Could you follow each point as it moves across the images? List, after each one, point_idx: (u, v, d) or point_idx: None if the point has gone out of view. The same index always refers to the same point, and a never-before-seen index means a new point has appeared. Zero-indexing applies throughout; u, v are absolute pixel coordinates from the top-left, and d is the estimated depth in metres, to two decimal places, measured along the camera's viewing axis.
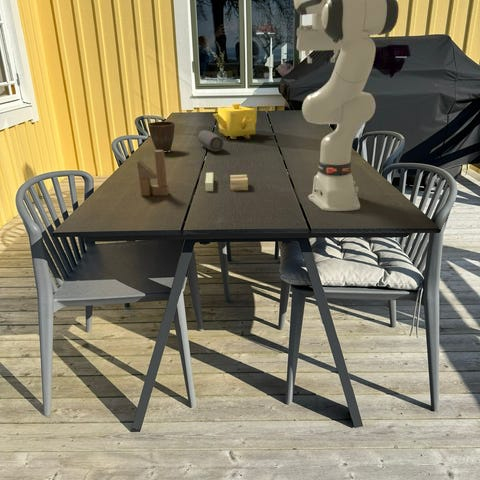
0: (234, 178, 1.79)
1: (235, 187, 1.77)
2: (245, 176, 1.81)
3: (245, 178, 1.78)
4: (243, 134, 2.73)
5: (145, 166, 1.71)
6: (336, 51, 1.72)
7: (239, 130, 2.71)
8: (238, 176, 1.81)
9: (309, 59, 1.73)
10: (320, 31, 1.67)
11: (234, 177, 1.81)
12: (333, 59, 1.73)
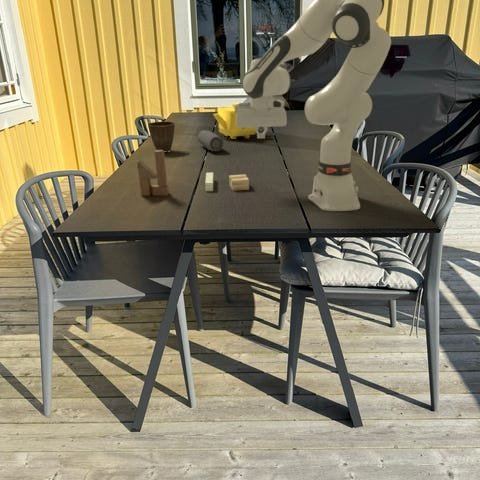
0: (234, 178, 1.79)
1: (236, 187, 1.77)
2: (245, 176, 1.81)
3: (245, 178, 1.78)
4: (243, 134, 2.73)
5: (145, 166, 1.71)
6: (265, 128, 1.71)
7: (239, 130, 2.71)
8: (238, 176, 1.81)
9: (258, 135, 1.72)
10: (257, 109, 1.66)
11: (234, 177, 1.80)
12: (263, 135, 1.72)
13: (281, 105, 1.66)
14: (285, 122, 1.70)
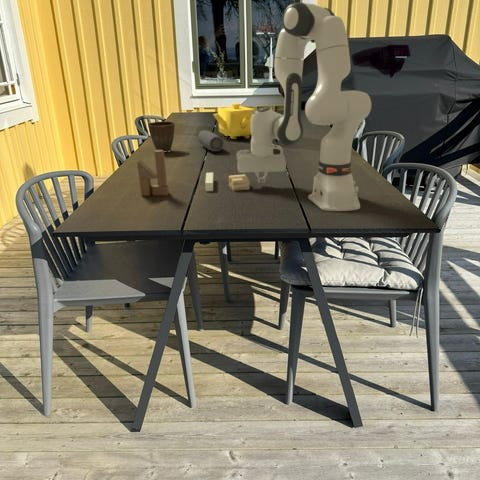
0: (235, 178, 1.79)
1: (236, 187, 1.77)
2: (244, 176, 1.81)
3: (246, 178, 1.79)
4: (243, 134, 2.73)
5: (145, 166, 1.71)
6: (265, 173, 1.79)
7: (239, 130, 2.71)
8: (237, 176, 1.81)
9: (259, 179, 1.80)
10: (258, 156, 1.74)
11: (234, 177, 1.80)
12: (263, 179, 1.80)
13: (280, 152, 1.73)
14: (284, 168, 1.77)
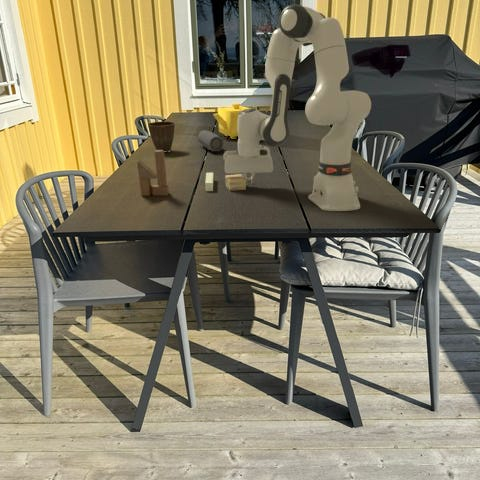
0: (231, 178, 1.79)
1: (233, 187, 1.77)
2: (241, 176, 1.81)
3: (242, 177, 1.79)
4: None
5: (145, 166, 1.70)
6: (253, 173, 1.79)
7: None
8: (234, 176, 1.81)
9: (246, 180, 1.80)
10: (245, 157, 1.74)
11: (231, 177, 1.80)
12: (250, 180, 1.80)
13: (267, 153, 1.73)
14: (271, 168, 1.77)
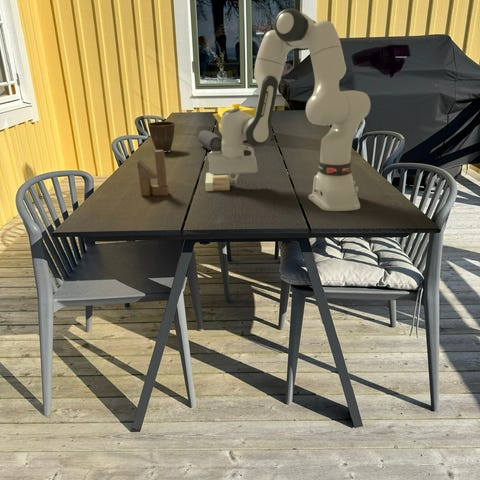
0: (216, 178, 1.80)
1: (216, 187, 1.78)
2: (227, 177, 1.82)
3: (227, 179, 1.79)
4: None
5: (145, 166, 1.71)
6: (237, 174, 1.78)
7: None
8: (220, 176, 1.82)
9: (231, 180, 1.80)
10: (229, 158, 1.74)
11: (217, 177, 1.81)
12: (235, 181, 1.80)
13: (251, 154, 1.73)
14: (256, 169, 1.77)
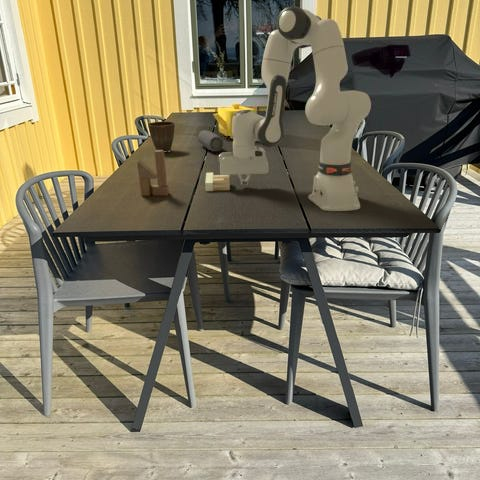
0: (216, 178, 1.80)
1: (216, 187, 1.78)
2: (227, 176, 1.81)
3: (227, 178, 1.79)
4: None
5: (145, 166, 1.71)
6: (248, 175, 1.78)
7: None
8: (220, 176, 1.82)
9: (242, 181, 1.79)
10: (240, 159, 1.73)
11: (217, 177, 1.81)
12: (246, 182, 1.79)
13: (262, 154, 1.73)
14: (267, 170, 1.77)
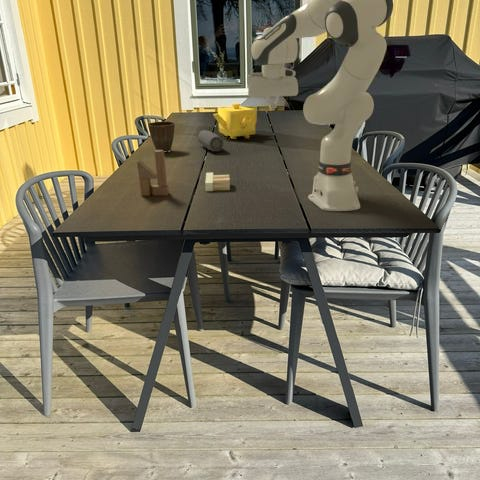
0: (216, 178, 1.80)
1: (216, 187, 1.78)
2: (227, 176, 1.81)
3: (227, 178, 1.79)
4: (243, 134, 2.73)
5: (145, 166, 1.70)
6: (277, 97, 1.74)
7: (239, 130, 2.71)
8: (220, 176, 1.82)
9: (270, 104, 1.75)
10: (270, 79, 1.69)
11: (217, 177, 1.81)
12: (274, 105, 1.75)
13: (293, 74, 1.69)
14: (296, 91, 1.73)
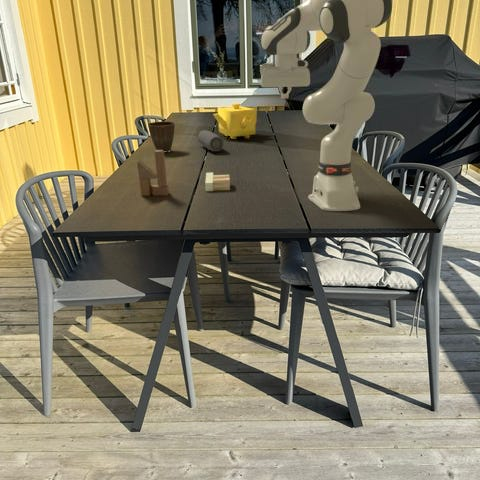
0: (216, 178, 1.80)
1: (216, 187, 1.78)
2: (227, 176, 1.81)
3: (227, 178, 1.79)
4: (243, 134, 2.73)
5: (145, 166, 1.71)
6: (289, 88, 1.77)
7: (239, 130, 2.71)
8: (220, 176, 1.82)
9: (282, 95, 1.78)
10: (282, 69, 1.72)
11: (217, 177, 1.81)
12: (287, 95, 1.78)
13: (305, 64, 1.71)
14: (308, 82, 1.75)
